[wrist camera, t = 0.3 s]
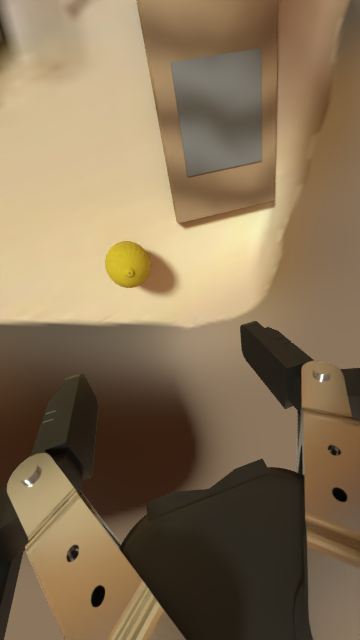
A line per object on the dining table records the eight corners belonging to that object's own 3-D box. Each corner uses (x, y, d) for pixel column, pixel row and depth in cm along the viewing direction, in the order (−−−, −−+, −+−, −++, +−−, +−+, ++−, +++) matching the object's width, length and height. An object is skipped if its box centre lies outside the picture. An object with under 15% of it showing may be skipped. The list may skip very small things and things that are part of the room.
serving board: (136, 0, 22) (138, -14, 21) (269, -16, 24) (279, -30, 22) (176, 222, 32) (179, 223, 31) (268, 200, 34) (275, 200, 32)
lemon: (148, 240, 32) (157, 252, 25) (144, 278, 35) (150, 298, 28) (107, 233, 31) (105, 244, 24) (105, 274, 33) (102, 294, 26)
